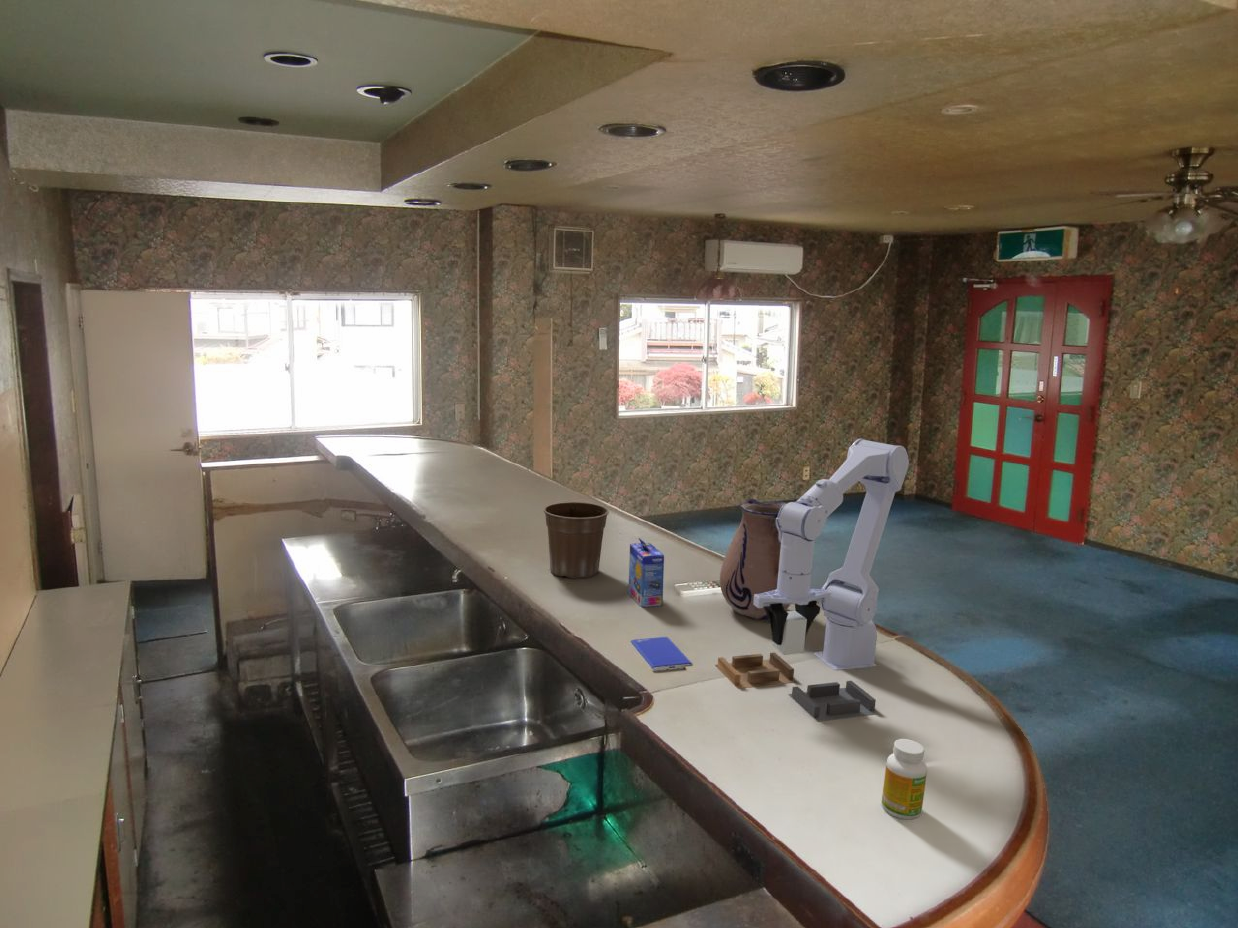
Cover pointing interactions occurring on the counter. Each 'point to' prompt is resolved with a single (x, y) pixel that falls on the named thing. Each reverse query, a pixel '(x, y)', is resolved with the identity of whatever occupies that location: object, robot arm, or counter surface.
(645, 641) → the hard drive
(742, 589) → the ceramic pitcher
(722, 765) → the counter surface
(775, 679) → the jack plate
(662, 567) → the ink cartridge box
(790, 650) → the plug block
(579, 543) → the plant pot
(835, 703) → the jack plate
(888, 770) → the supplement bottle
